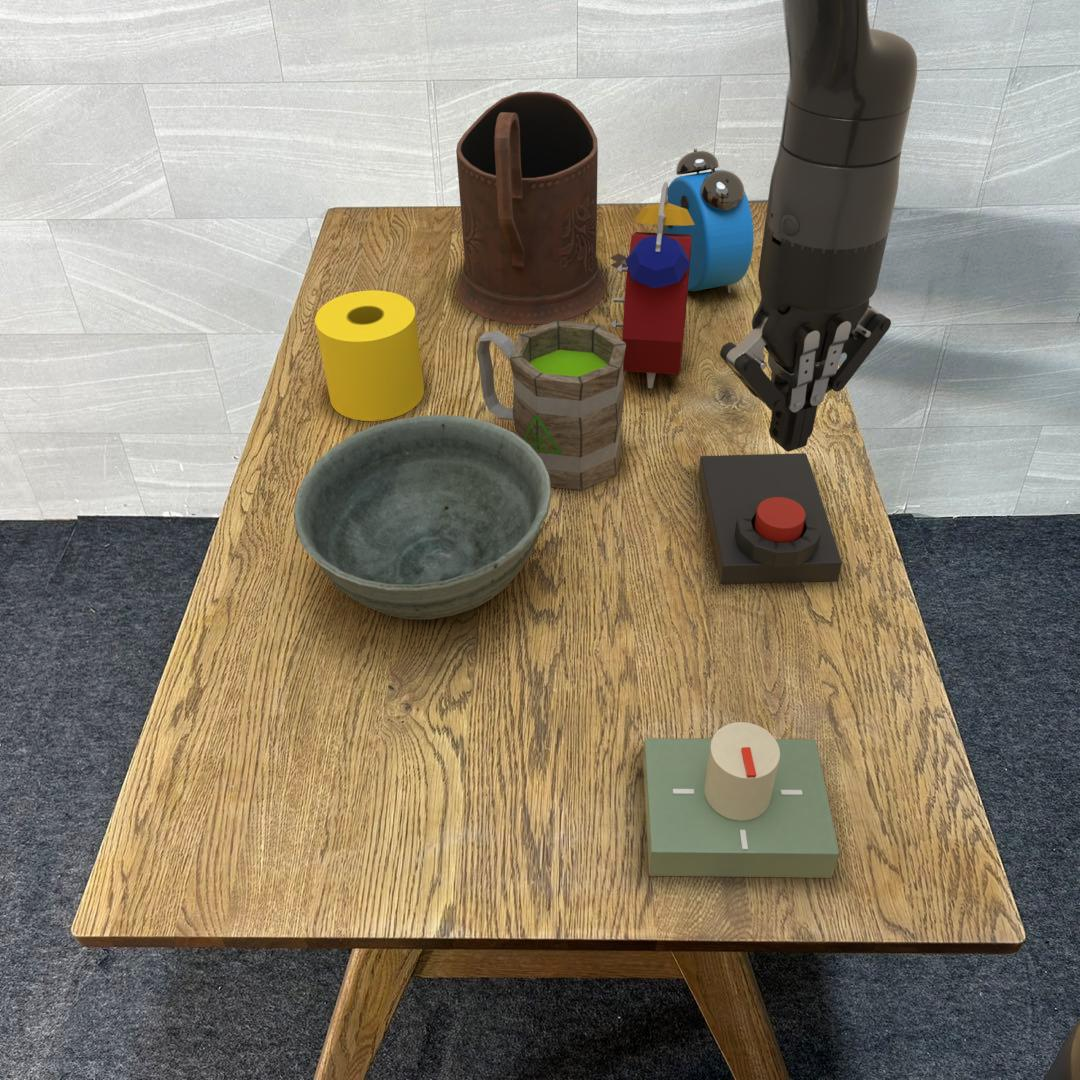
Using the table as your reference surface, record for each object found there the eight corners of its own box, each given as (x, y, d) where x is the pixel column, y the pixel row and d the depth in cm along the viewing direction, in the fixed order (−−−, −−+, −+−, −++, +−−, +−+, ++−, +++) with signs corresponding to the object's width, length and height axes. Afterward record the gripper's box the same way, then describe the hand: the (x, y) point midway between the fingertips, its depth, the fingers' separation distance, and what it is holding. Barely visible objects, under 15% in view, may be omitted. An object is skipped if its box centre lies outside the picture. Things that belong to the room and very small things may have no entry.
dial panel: (809, 764, 75) (816, 737, 73) (832, 878, 68) (840, 852, 66) (642, 762, 76) (644, 736, 73) (648, 876, 69) (651, 850, 67)
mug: (644, 445, 103) (650, 340, 95) (586, 505, 97) (587, 398, 89) (515, 397, 110) (510, 295, 102) (452, 450, 104) (442, 345, 95)
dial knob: (699, 766, 72) (706, 720, 68) (763, 763, 72) (773, 717, 68) (709, 822, 68) (716, 777, 65) (776, 819, 68) (787, 774, 65)
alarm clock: (748, 304, 123) (763, 180, 113) (699, 313, 122) (711, 189, 112) (701, 255, 132) (712, 137, 122) (656, 263, 131) (663, 144, 121)
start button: (806, 542, 87) (810, 527, 86) (758, 544, 87) (761, 528, 86) (797, 511, 90) (800, 496, 89) (751, 512, 90) (753, 497, 89)
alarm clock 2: (678, 404, 108) (693, 222, 95) (596, 398, 110) (598, 218, 96) (686, 329, 119) (700, 157, 106) (611, 324, 120) (615, 153, 107)
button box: (839, 584, 88) (847, 550, 86) (721, 588, 88) (725, 553, 86) (802, 470, 100) (809, 437, 97) (698, 473, 100) (701, 440, 97)
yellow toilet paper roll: (323, 421, 108) (307, 342, 101) (337, 368, 115) (323, 291, 109) (419, 420, 107) (409, 340, 101) (428, 366, 115) (419, 289, 108)
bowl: (598, 551, 92) (600, 462, 85) (457, 710, 79) (446, 620, 73) (414, 474, 101) (402, 387, 94) (260, 606, 88) (234, 517, 81)
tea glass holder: (614, 253, 133) (619, 46, 116) (593, 355, 116) (596, 129, 99) (471, 246, 135) (457, 42, 119) (430, 345, 118) (406, 122, 101)
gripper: (872, 175, 69) (829, 394, 81) (704, 216, 65) (683, 441, 77) (952, 218, 64) (894, 446, 76) (775, 265, 60) (742, 499, 71)
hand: (788, 443), depth 76 cm, fingers closed
